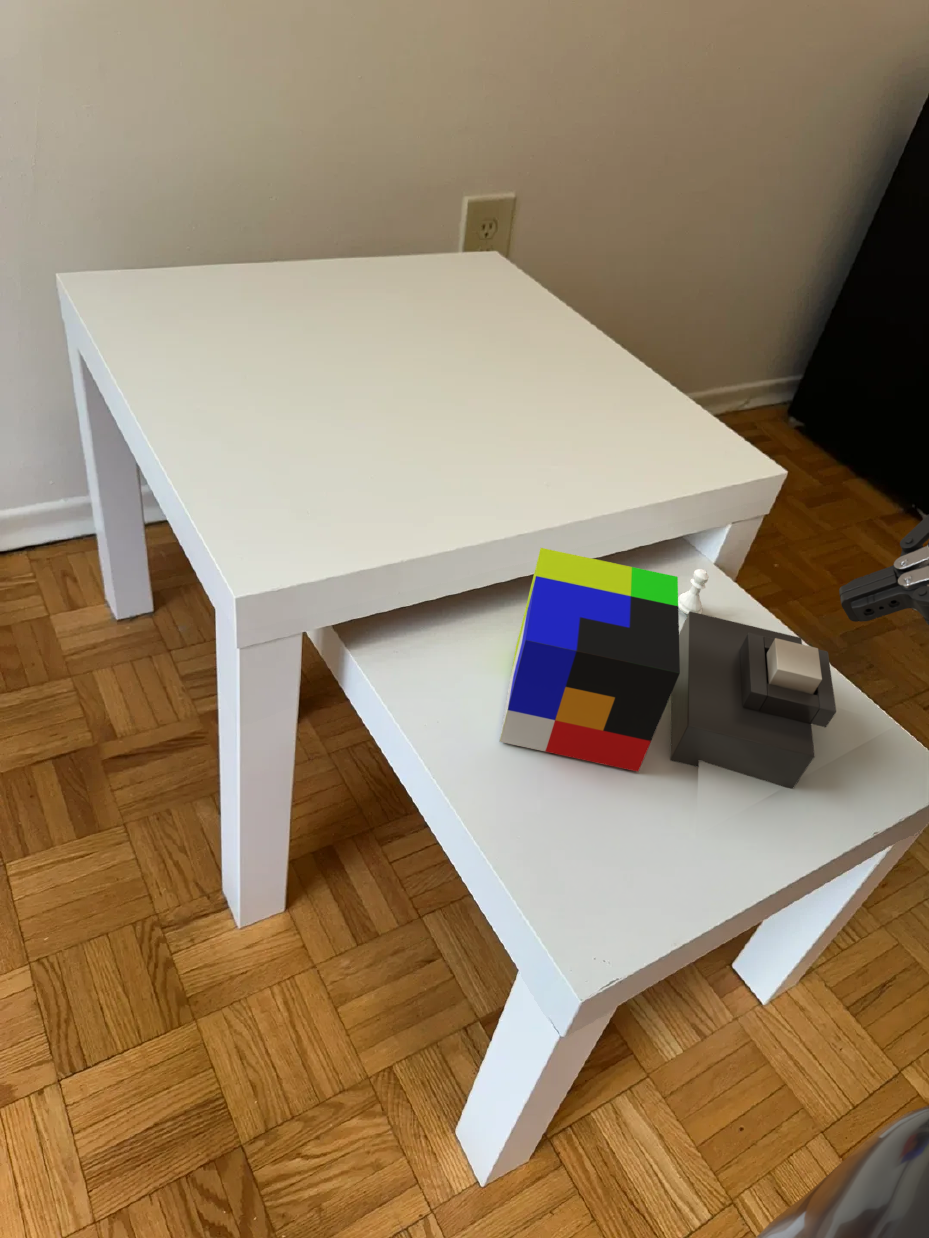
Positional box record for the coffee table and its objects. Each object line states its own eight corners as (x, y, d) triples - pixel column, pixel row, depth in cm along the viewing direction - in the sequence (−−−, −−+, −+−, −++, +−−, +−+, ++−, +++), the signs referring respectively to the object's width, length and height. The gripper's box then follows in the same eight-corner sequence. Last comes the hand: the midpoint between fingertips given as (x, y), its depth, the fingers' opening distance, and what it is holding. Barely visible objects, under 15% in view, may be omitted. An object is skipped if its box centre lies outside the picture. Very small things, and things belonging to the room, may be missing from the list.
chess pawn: (706, 613, 80) (722, 578, 77) (689, 619, 79) (704, 583, 76) (687, 595, 81) (701, 559, 78) (670, 600, 80) (683, 564, 78)
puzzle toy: (499, 741, 66) (525, 640, 59) (515, 647, 73) (540, 547, 67) (638, 771, 66) (679, 673, 59) (640, 673, 73) (677, 576, 67)
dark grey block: (805, 795, 67) (841, 744, 63) (669, 761, 67) (696, 709, 63) (793, 676, 76) (824, 624, 72) (673, 647, 76) (696, 594, 72)
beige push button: (812, 695, 66) (822, 679, 65) (768, 685, 67) (777, 668, 65) (808, 664, 69) (818, 648, 68) (766, 653, 69) (775, 637, 68)
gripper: (1092, 396, 57) (812, 508, 66) (1171, 526, 47) (832, 636, 56) (1122, 485, 60) (853, 580, 69) (1202, 623, 51) (878, 713, 60)
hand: (844, 605), depth 63 cm, fingers closed
